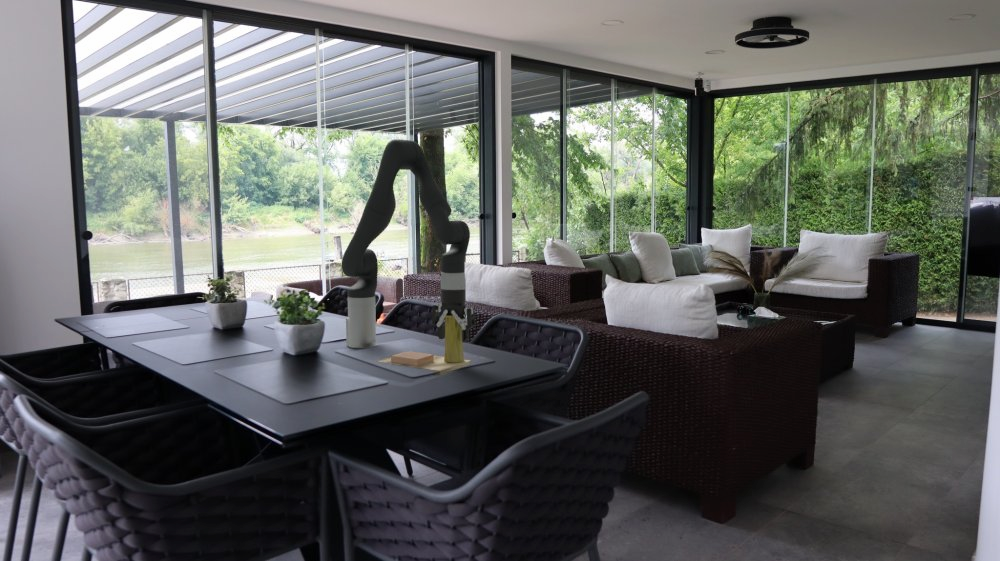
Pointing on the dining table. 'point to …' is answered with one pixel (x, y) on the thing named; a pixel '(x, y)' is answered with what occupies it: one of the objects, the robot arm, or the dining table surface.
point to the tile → (412, 358)
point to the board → (435, 365)
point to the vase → (453, 340)
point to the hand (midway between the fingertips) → (453, 340)
